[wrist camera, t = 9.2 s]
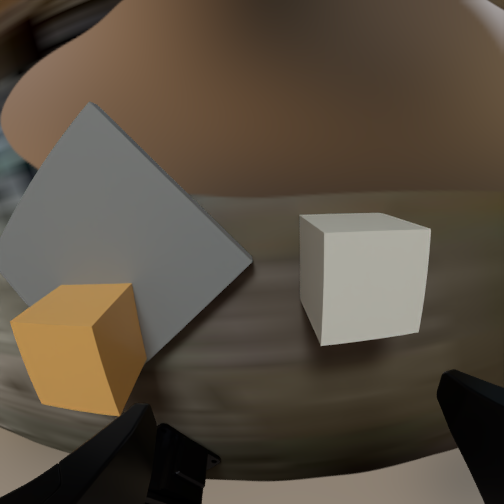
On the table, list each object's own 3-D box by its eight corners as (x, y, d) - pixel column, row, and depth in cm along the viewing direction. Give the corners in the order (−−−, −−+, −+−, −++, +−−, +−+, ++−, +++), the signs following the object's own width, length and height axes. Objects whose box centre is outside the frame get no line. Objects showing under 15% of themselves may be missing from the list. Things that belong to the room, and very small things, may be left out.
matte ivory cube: (376, 292, 20) (418, 332, 14) (299, 299, 20) (321, 346, 14) (380, 212, 19) (430, 229, 13) (299, 215, 19) (324, 232, 13)
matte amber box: (146, 358, 20) (120, 416, 14) (79, 355, 20) (41, 403, 14) (131, 283, 18) (91, 326, 13) (61, 284, 18) (10, 321, 12)
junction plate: (122, 380, 21) (102, 419, 17) (-1, 255, 19) (-39, 272, 14) (252, 256, 19) (255, 281, 15) (97, 104, 17) (60, 89, 12)
